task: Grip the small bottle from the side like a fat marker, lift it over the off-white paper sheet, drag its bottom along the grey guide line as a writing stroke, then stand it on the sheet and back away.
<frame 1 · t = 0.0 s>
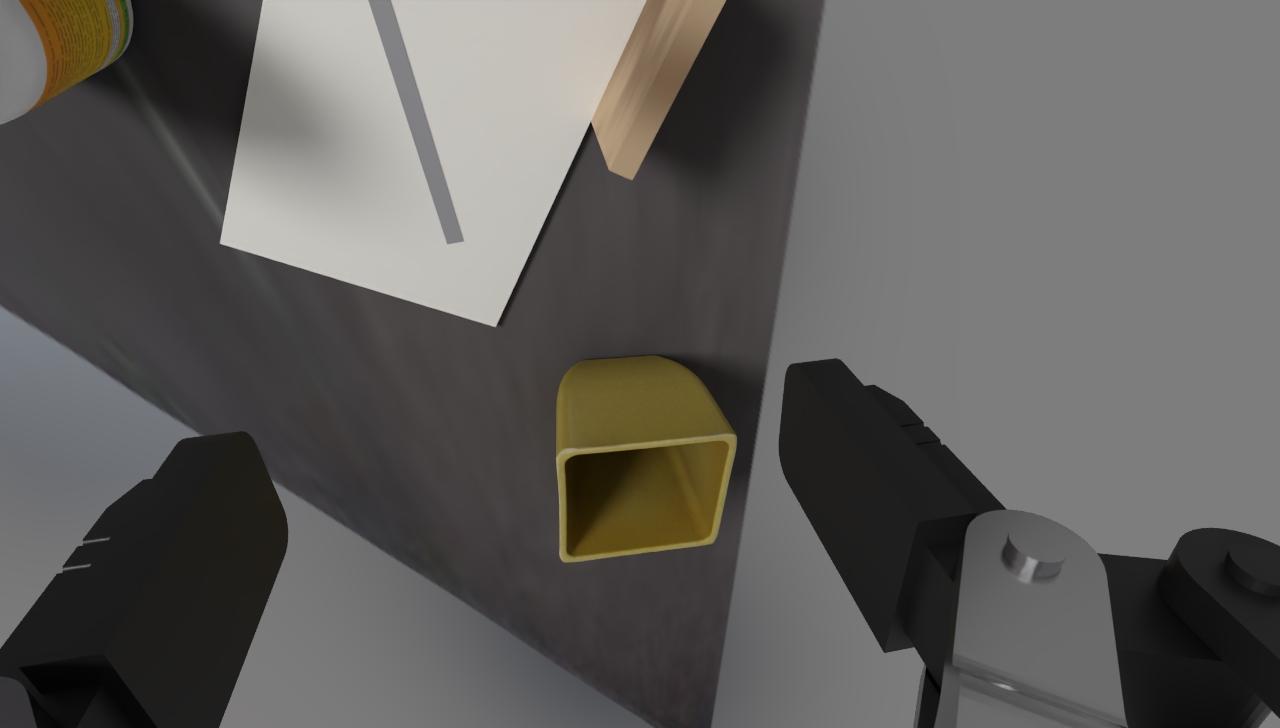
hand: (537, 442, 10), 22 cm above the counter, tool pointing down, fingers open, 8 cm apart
flower pot: (616, 387, 40), on the counter
wooden block: (640, 36, 27), on the counter
paper: (424, 118, 28), on the counter
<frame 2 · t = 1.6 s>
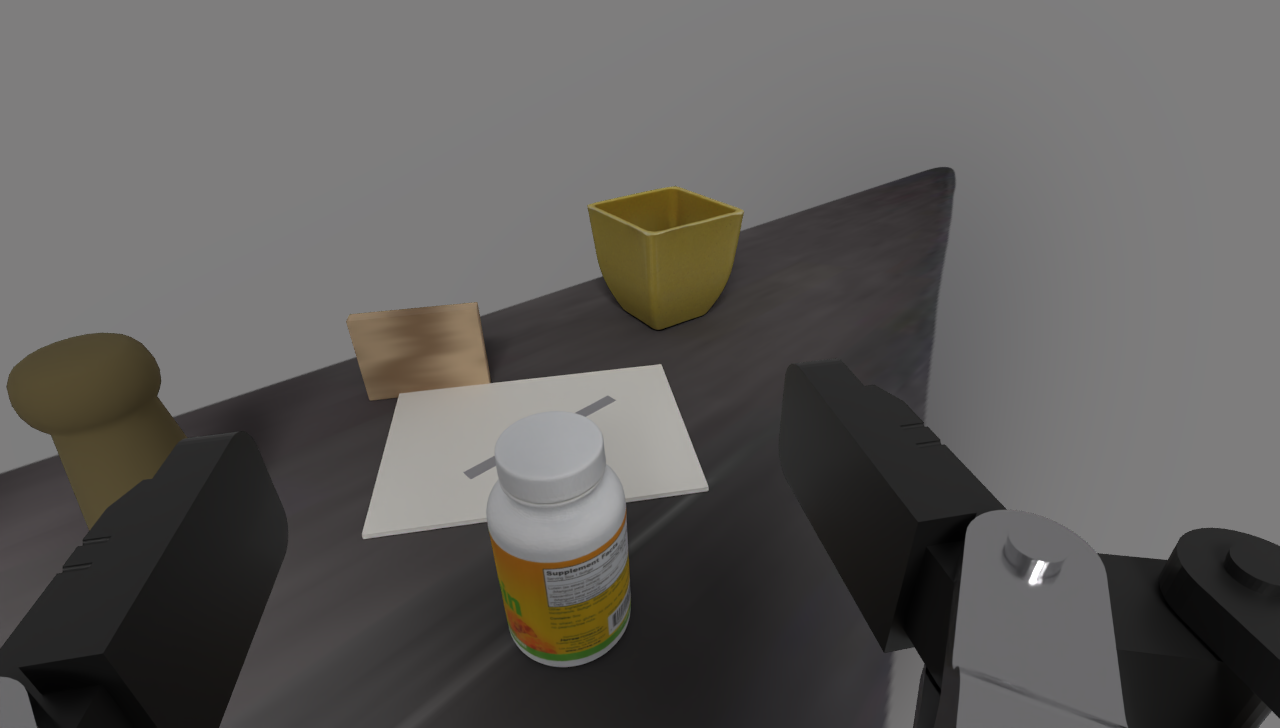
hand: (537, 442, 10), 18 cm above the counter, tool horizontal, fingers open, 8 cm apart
supplement bottle: (570, 618, 29), on the counter
flower pot: (664, 315, 54), on the counter
wooden block: (431, 389, 44), on the counter
paper: (537, 438, 39), on the counter
olive chess pawn: (173, 534, 34), on the counter
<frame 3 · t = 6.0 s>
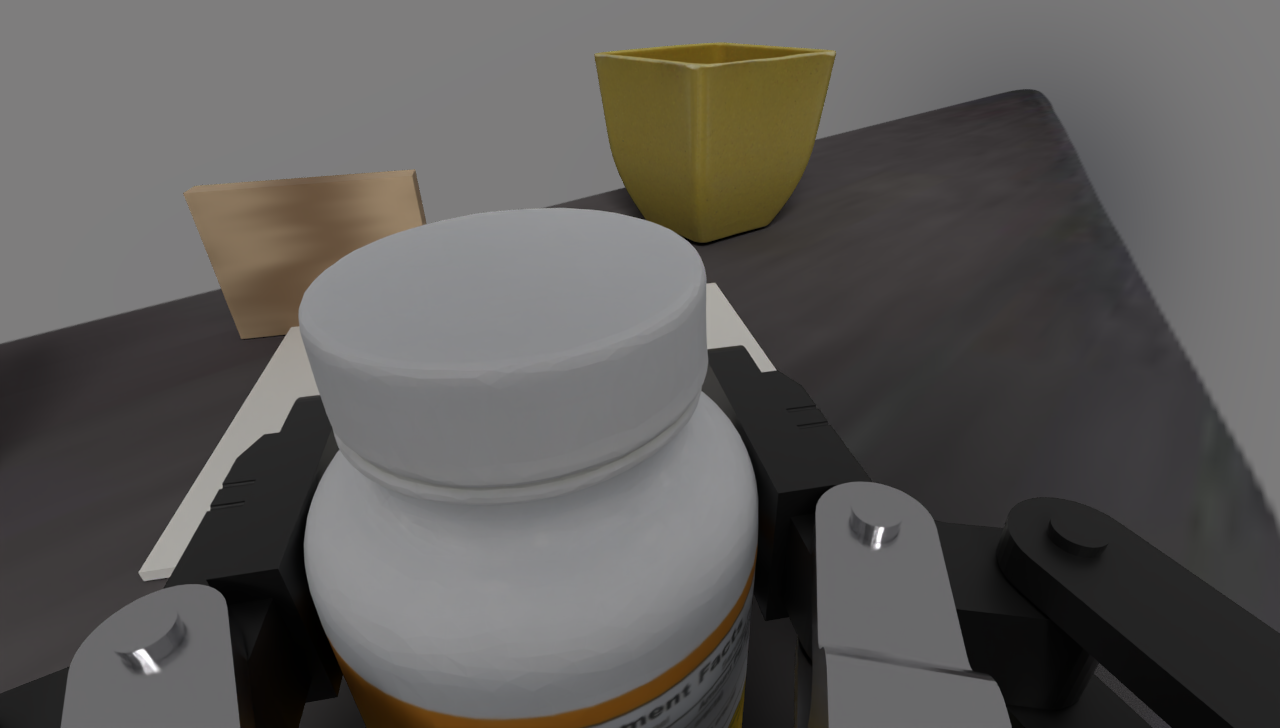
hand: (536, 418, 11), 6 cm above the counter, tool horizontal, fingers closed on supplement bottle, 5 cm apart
flower pot: (707, 229, 37), on the counter
wooden block: (346, 322, 27), on the counter
paper: (515, 391, 22), on the counter
when the fingers open (7 cm above the counter, at t = 12.3 s): supplement bottle stays where it is, resting on paper.
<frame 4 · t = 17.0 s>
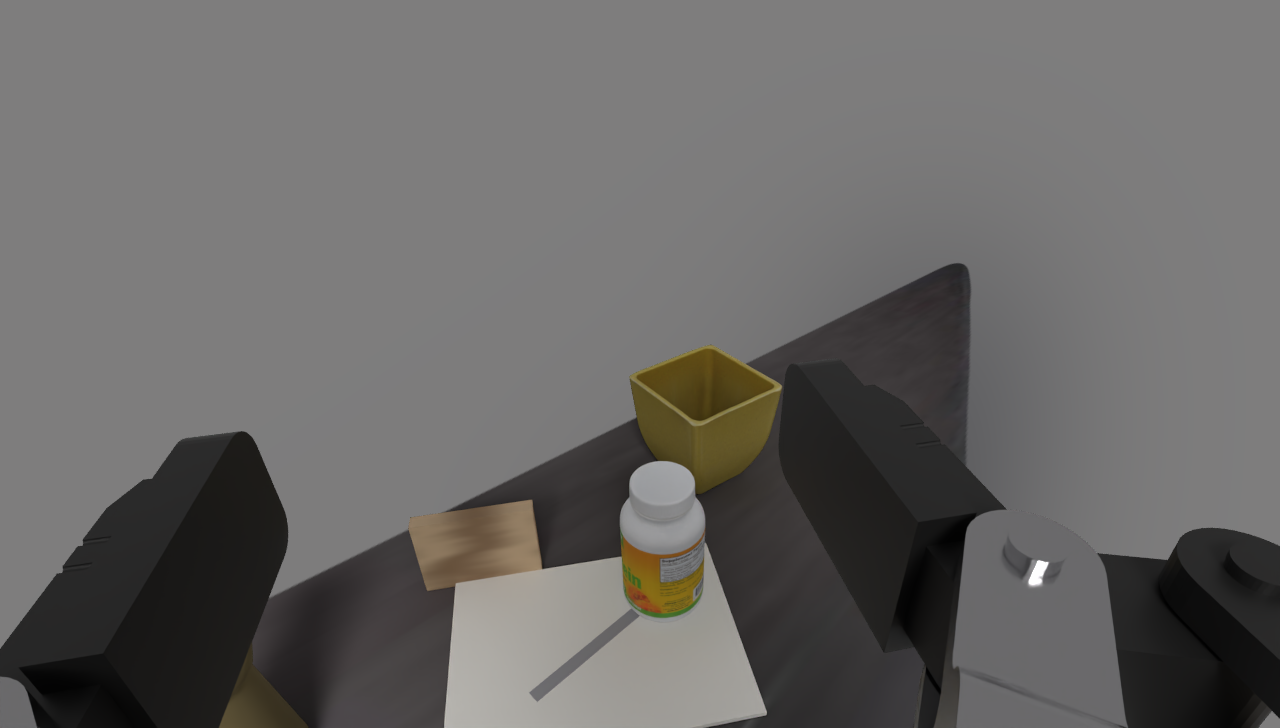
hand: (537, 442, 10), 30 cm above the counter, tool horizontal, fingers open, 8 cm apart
supplement bottle: (663, 593, 44), resting on paper
flower pot: (702, 470, 55), on the counter
wooden block: (485, 575, 46), on the counter
paper: (595, 643, 41), on the counter
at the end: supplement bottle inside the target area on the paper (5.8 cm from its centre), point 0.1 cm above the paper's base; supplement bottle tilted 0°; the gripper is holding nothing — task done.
